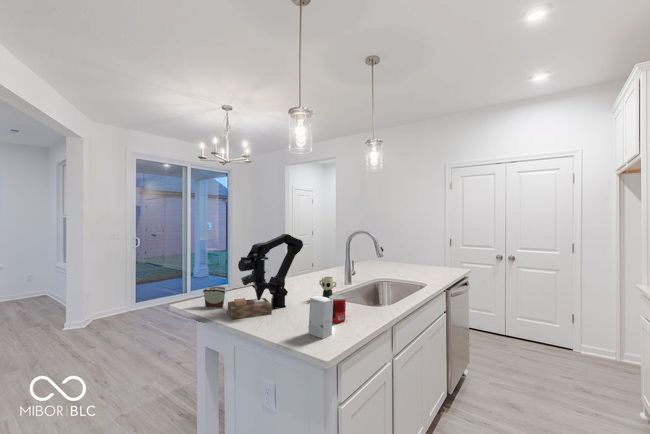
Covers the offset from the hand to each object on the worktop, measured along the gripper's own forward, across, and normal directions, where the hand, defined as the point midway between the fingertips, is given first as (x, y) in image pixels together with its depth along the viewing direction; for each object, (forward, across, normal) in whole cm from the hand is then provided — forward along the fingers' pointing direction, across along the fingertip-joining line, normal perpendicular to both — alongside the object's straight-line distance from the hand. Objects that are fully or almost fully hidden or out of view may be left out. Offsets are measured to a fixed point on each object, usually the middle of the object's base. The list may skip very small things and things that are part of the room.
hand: (258, 299), depth 151 cm
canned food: (+6, +28, +30) cm, 42 cm away
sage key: (+4, 0, 0) cm, 4 cm away
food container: (+6, -19, -18) cm, 27 cm away
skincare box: (+6, +40, +16) cm, 43 cm away
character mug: (+6, -6, +42) cm, 43 cm away
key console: (+6, 0, -5) cm, 8 cm away
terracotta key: (+3, 0, -9) cm, 9 cm away
